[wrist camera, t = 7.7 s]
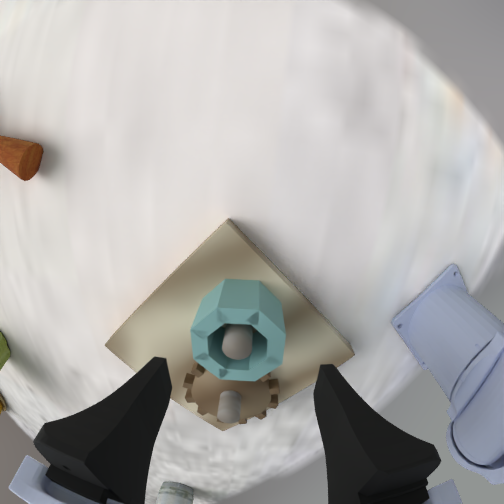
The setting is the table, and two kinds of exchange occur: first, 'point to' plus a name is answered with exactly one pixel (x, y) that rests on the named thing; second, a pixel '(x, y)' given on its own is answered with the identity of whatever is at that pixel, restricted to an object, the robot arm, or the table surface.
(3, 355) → the plant pot
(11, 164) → the kendama
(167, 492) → the camera lens
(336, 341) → the gear board
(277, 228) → the table surface
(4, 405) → the toy sandwich meal
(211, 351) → the teal faceted ring
